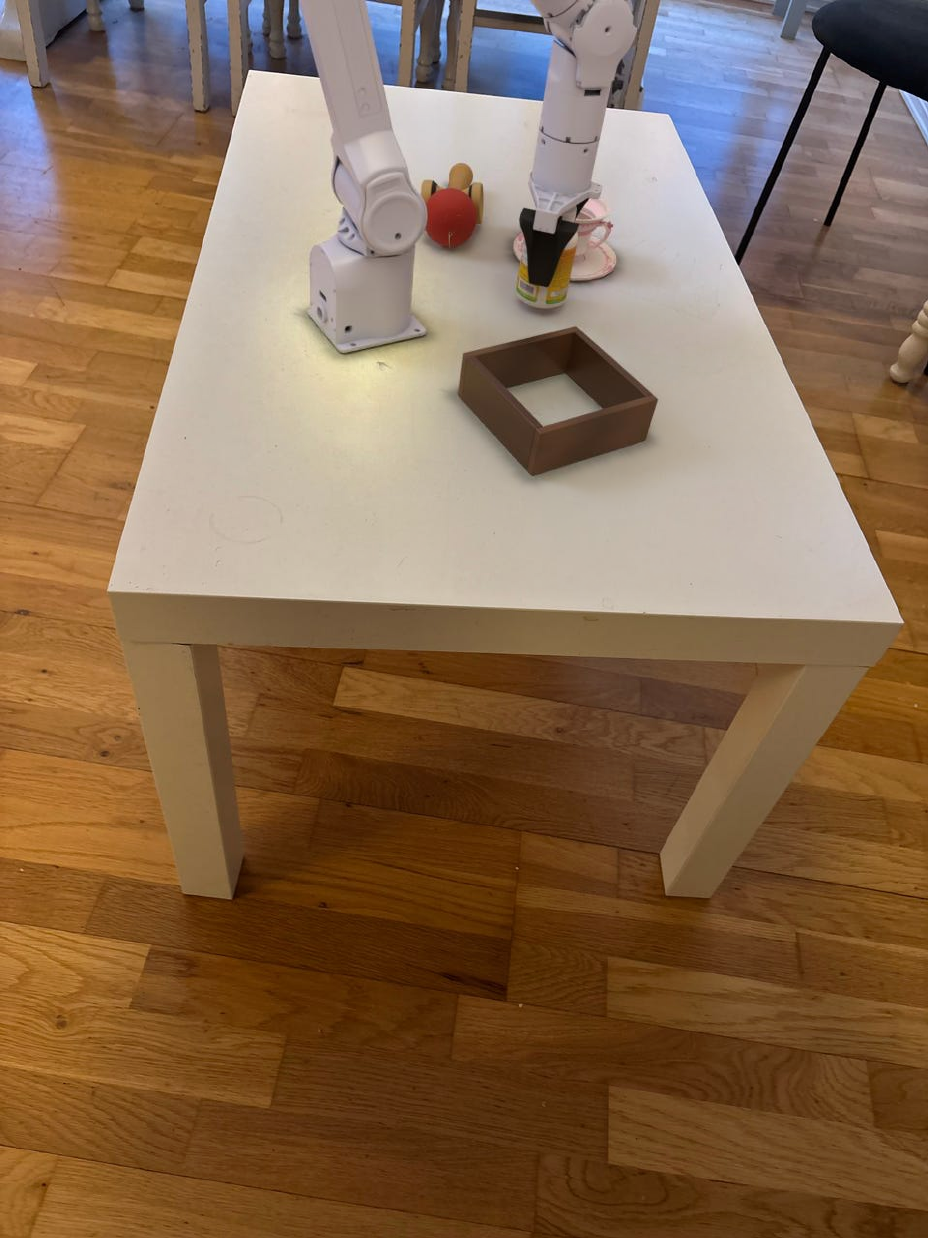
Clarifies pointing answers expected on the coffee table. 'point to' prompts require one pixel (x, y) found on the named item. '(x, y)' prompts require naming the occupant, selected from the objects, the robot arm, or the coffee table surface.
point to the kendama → (453, 207)
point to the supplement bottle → (561, 278)
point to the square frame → (564, 440)
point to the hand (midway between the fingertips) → (544, 270)
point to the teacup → (587, 243)
